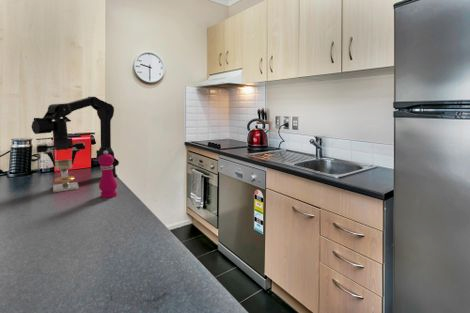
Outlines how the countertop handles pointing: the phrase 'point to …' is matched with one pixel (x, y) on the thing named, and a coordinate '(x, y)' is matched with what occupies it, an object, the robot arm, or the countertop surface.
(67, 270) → the countertop surface
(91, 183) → the countertop surface
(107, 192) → the pepper mill
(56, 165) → the collar
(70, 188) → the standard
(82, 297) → the countertop surface
